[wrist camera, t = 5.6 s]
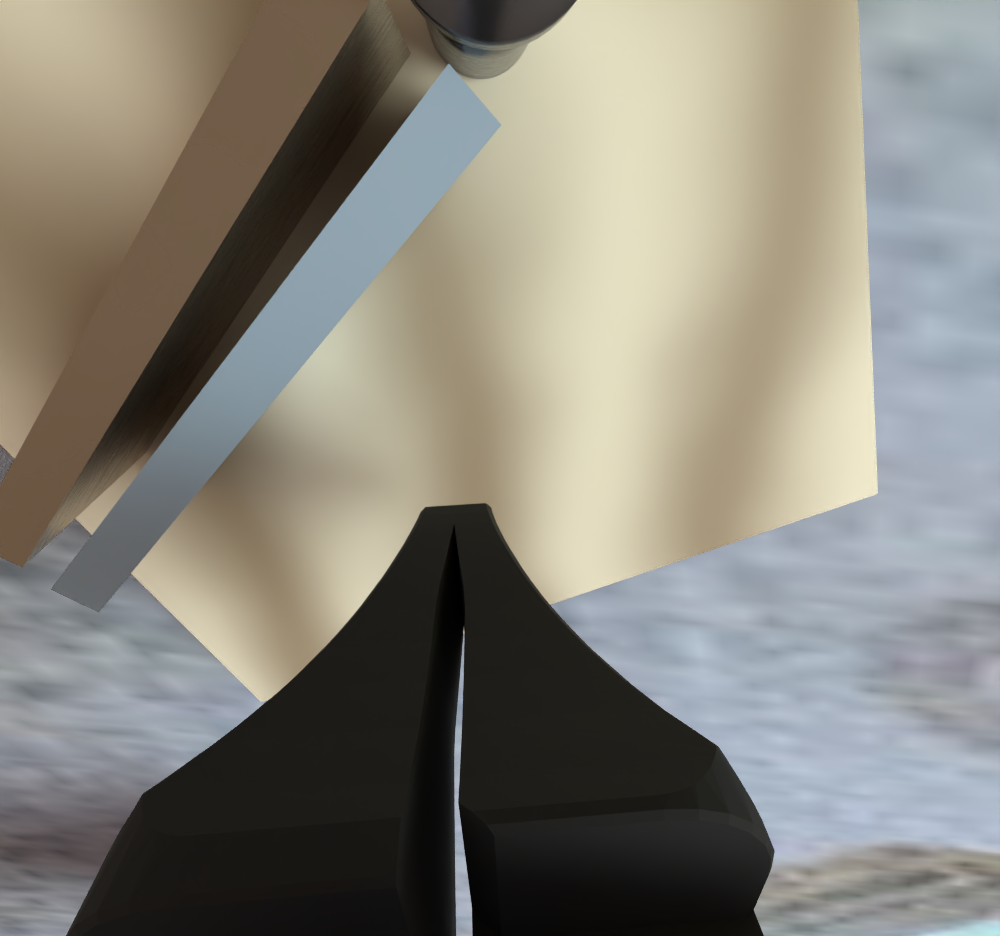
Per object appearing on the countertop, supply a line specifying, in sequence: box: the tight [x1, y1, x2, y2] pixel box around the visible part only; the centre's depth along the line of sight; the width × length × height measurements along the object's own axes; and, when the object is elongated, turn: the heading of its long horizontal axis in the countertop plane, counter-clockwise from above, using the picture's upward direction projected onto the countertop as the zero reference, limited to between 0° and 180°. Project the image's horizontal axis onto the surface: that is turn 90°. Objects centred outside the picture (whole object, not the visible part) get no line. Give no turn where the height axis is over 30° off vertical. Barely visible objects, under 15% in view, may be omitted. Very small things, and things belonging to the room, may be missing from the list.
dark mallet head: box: [0, 0, 577, 567], centre depth 8 cm, size 12×2×5 cm, turn 138°
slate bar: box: [51, 64, 501, 612], centre depth 9 cm, size 10×1×4 cm, turn 136°
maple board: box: [0, 0, 878, 702], centre depth 12 cm, size 19×16×1 cm
